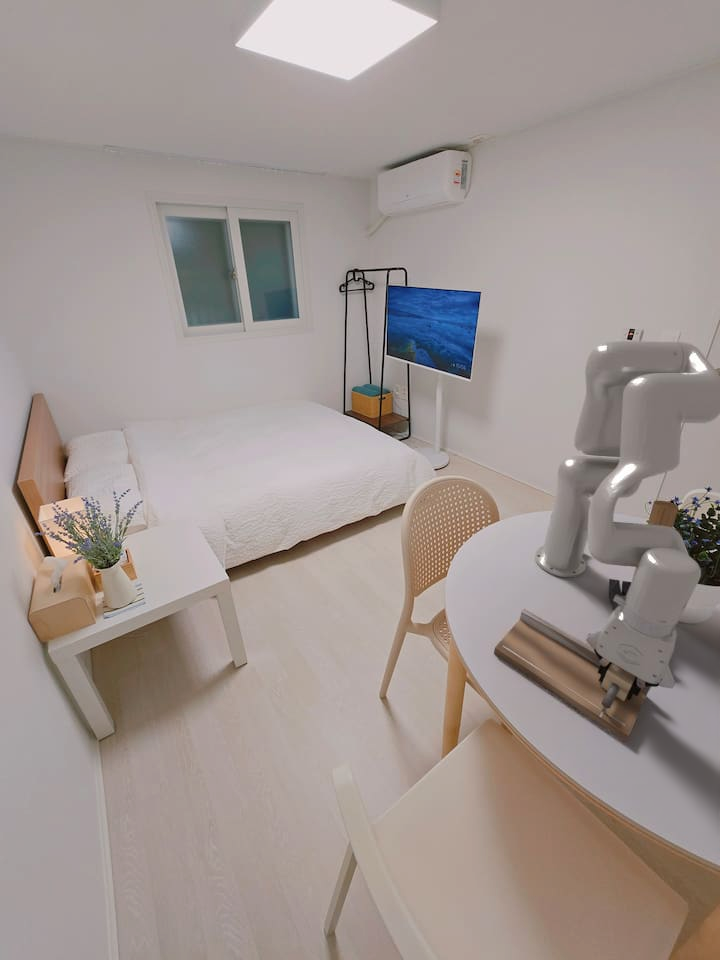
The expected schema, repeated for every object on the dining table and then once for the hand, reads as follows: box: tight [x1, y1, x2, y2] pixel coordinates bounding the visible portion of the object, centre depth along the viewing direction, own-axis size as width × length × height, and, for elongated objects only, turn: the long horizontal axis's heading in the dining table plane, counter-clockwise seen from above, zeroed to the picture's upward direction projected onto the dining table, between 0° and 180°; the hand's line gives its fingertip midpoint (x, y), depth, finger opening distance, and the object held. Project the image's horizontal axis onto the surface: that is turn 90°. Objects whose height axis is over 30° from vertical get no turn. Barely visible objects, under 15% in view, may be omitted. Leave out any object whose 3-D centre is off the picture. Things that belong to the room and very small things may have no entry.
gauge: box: [601, 663, 636, 712], centre depth 73 cm, size 9×4×4 cm, turn 134°
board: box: [493, 608, 652, 743], centre depth 79 cm, size 12×25×4 cm, turn 44°
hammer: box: [608, 500, 679, 611], centre depth 86 cm, size 20×5×30 cm, turn 165°
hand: (616, 684), depth 75 cm, fingers closed on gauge, 4 cm apart
